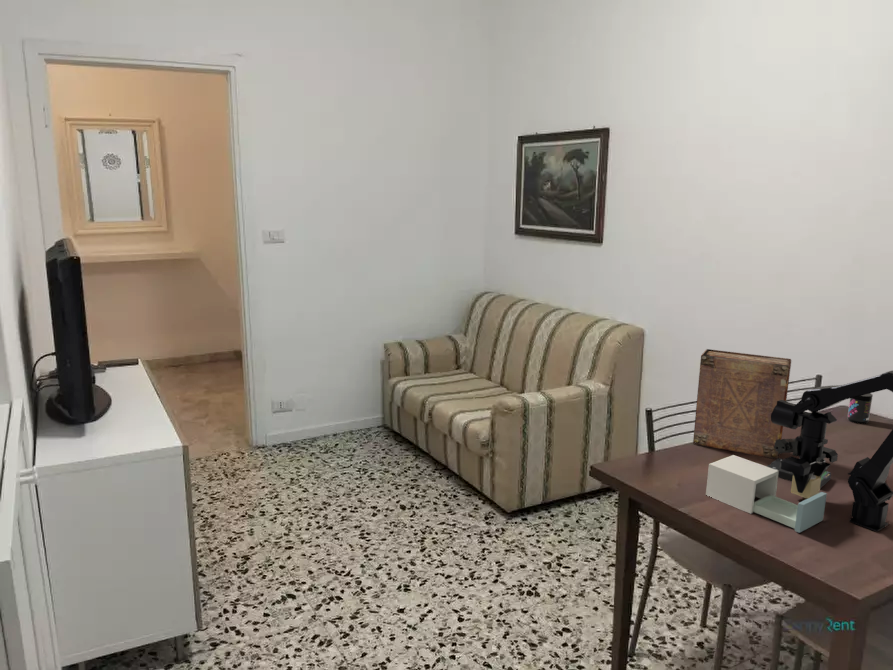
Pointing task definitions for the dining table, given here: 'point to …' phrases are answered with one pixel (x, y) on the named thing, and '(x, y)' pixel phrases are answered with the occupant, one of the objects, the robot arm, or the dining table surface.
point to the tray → (793, 511)
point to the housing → (740, 482)
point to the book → (740, 402)
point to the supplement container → (860, 408)
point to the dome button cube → (807, 487)
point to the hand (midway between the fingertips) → (805, 490)
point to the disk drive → (789, 475)
